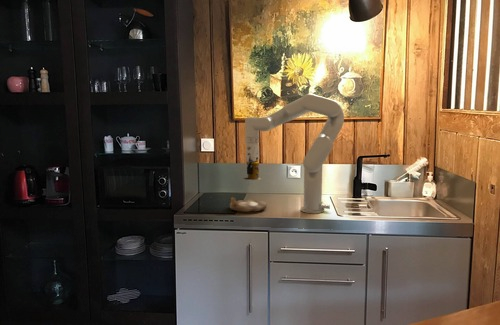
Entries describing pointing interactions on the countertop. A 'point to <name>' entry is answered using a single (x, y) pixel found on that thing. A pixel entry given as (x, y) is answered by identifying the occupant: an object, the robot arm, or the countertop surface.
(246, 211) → the base
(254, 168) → the condiment
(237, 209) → the brown round disc
